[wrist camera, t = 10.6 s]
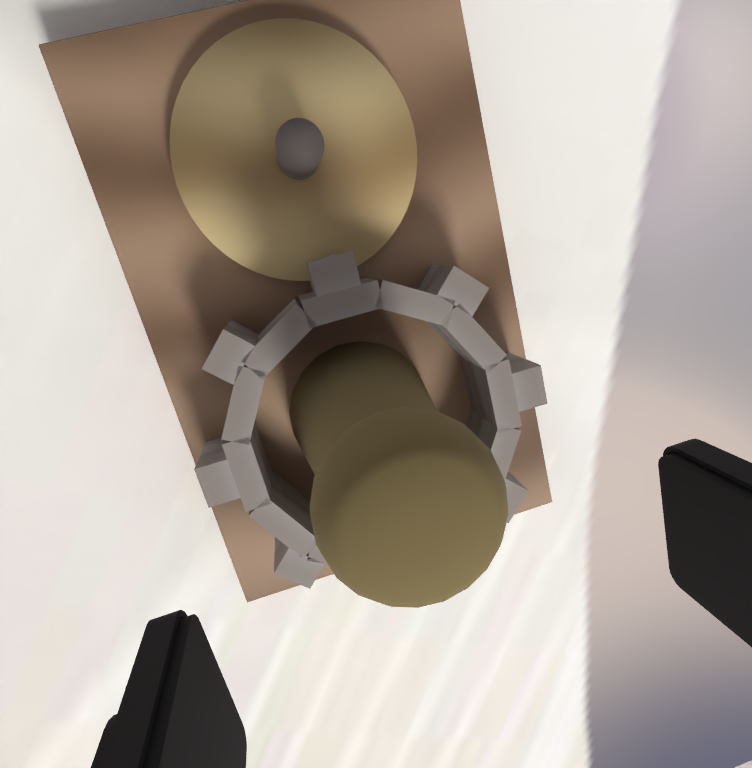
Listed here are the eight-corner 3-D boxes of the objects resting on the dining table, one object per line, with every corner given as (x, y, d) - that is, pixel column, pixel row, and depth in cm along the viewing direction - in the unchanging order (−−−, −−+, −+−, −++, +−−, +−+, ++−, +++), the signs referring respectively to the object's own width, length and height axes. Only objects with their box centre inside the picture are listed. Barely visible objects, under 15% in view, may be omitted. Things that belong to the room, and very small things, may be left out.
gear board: (56, 60, 20) (-8, 4, 15) (440, -23, 21) (480, -95, 17) (249, 583, 26) (242, 648, 21) (537, 489, 27) (586, 532, 23)
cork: (272, 457, 23) (262, 627, 12) (313, 323, 22) (341, 382, 11) (402, 489, 24) (494, 666, 14) (446, 364, 23) (582, 450, 13)
